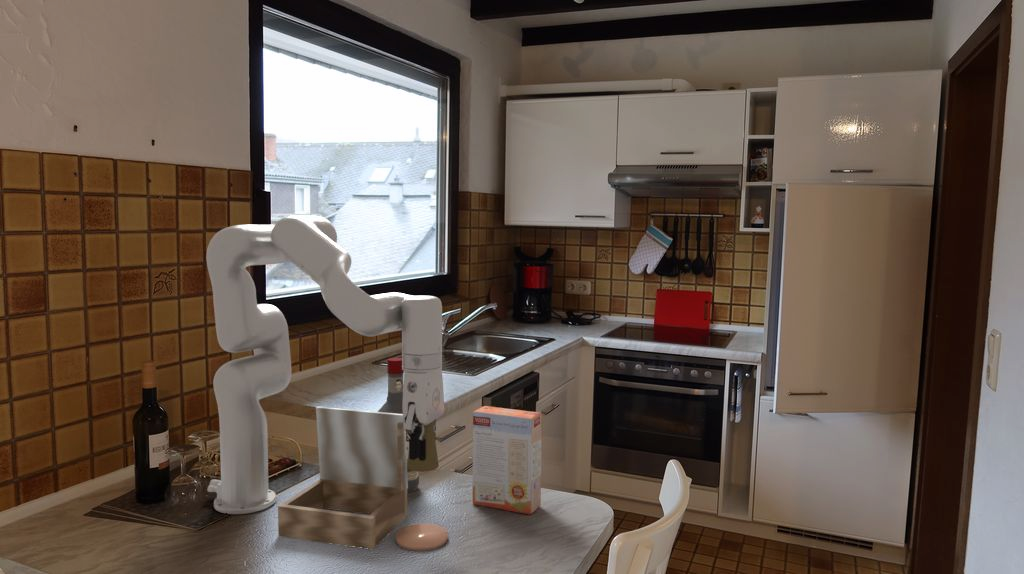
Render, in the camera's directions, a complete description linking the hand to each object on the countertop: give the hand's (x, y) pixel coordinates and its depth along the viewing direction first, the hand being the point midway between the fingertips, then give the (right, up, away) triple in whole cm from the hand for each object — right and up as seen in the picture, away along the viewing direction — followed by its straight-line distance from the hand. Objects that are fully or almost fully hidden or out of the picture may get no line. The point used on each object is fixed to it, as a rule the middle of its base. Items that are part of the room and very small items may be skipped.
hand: (422, 454), depth 139 cm
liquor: (-10, -14, +28) cm, 33 cm away
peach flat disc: (0, -17, +2) cm, 17 cm away
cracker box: (+16, -16, +19) cm, 29 cm away
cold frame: (-16, -16, +7) cm, 24 cm away
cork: (0, -2, 0) cm, 2 cm away
